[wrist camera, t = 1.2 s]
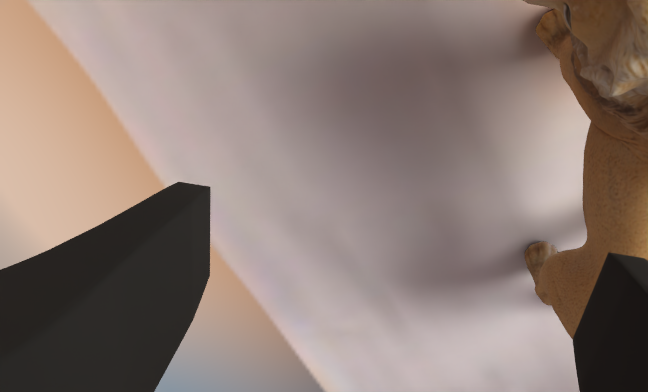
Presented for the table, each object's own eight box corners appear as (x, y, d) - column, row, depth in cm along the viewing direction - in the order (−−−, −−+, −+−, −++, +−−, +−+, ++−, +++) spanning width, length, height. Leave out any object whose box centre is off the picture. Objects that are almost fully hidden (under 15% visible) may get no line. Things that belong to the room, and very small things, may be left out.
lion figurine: (473, -115, 17) (513, -79, 9) (692, -174, 15) (964, -191, 8) (526, 308, 23) (577, 542, 15) (682, 293, 22) (822, 539, 14)
